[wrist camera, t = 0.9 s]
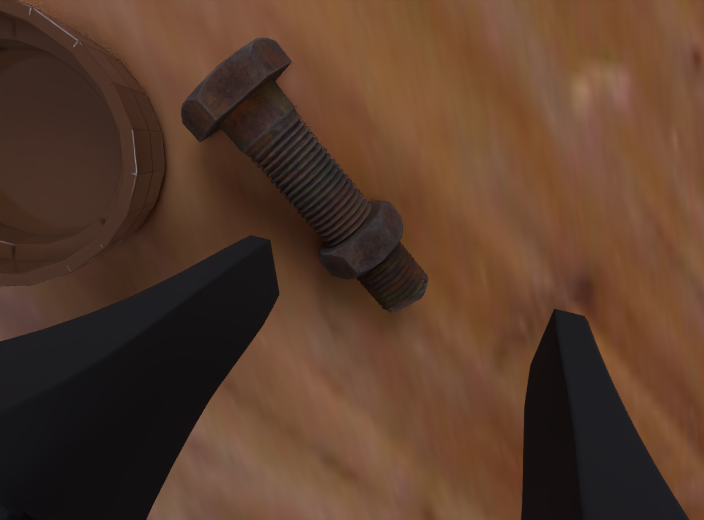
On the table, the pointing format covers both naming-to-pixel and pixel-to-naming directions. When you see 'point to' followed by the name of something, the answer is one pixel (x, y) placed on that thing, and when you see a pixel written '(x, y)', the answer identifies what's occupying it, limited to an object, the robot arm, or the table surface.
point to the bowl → (68, 148)
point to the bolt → (305, 173)
